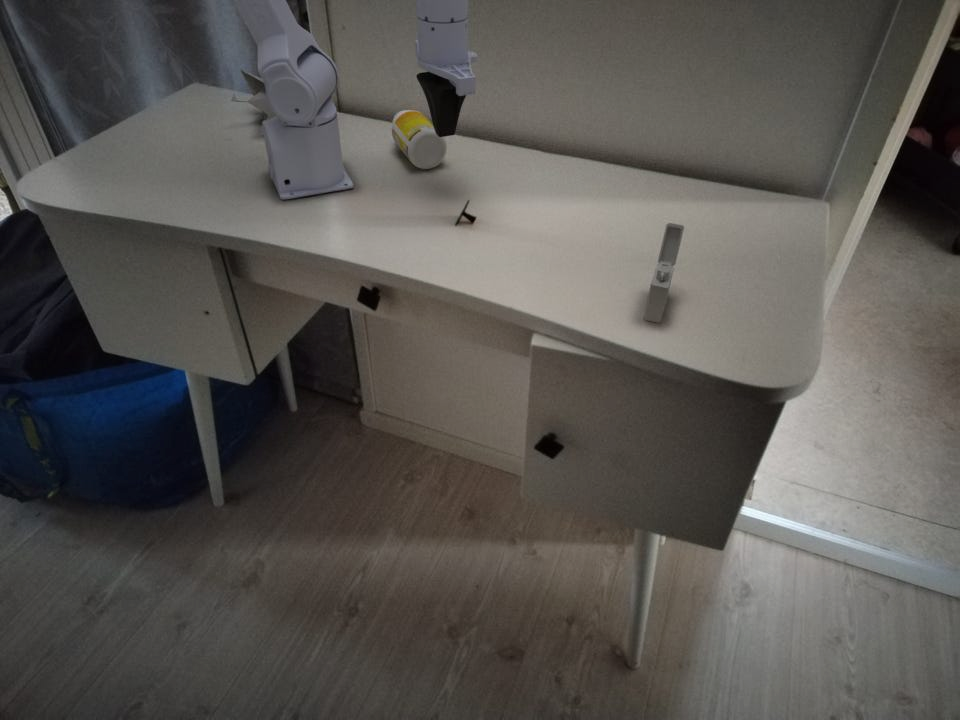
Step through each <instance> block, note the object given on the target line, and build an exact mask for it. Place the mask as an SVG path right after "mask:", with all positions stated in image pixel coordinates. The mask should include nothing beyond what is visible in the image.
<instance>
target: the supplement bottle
mask: <svg viewBox="0 0 960 720" xmlns="http://www.w3.org/2000/svg"><path fill="white" fill-rule="evenodd" d="M391 124H392V125H391V136H392V139H393V141H394V142H395V144H396V146H398V148H399V149H400V151H402V152H403V154H404V155H405V156H406V158H407V159H408V160H409V161H410V162H411V164H412V165H413V166H414V167H417V168H418V169H422V170H428V169H429V170H430V169H433V168H436V167H437V166H438V165H439V164H441V162H442V161H443V160H444V159H445V156H446V154H447V141H446V139H445V137H439V136H438V135H437V134H436V133H435V130H434V126H433V122H432V121H430V120H429V119H428V118H427V117H426V116H425V115H424V114H423V113H422V112H420V111H418V110H413V109H410V110H409V109H404V110H401V111H398V112H397V113H396V114H395V115H394V117H393V119H392V123H391Z"/></svg>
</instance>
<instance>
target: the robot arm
mask: <svg viewBox="0 0 960 720" xmlns="http://www.w3.org/2000/svg"><path fill="white" fill-rule="evenodd" d="M232 2H233V4H234V6H235V8H236V10H237V11H238V14H239V15H240V17H241V18H242V21H243V22H244V24H245V26H246V28H247V29H248V31H249V33H250V35H251V37H252V38H253V40H254V42H255V44H256V46H257V72H258V74H259V77H260V78H262V80H263V82H264V85H265V89H266V98H267V102H268V105H269V107H270V108H271V110H272V111H273V113H274V114H275V115H276V117H274V118H272V119H269V120H265V121H264V120H262V121H261V127H262V130H263V135H264V136H263V140H264V146H265V151H266V155H267V160H268V166H267V167H268V172H269V176H270V179H271V180H272V182H273V185H274V186H275V189H276V192H277V194H278V196H279V198H280V200H290V199H296V198H302V197H309V196H313V195H314V196H315V195H321V194H325V193H331V192H332V193H333V192H337V191H343V190H348V189H352V188H354V183H353V181H352V179H351V177H350V176H349V174H348V172H347V171H346V168H345V167H344V161H343V154H342V145H341V135H340V127H339V117H338V111H337V107H336V105H335V102H334V100H333V95H334V94H335V92H336V90H337V89H338V86H339V82H340V76H339V70H338V67H337V65H336V64H335V61H334V60H333V59H332V58H331V57H330V56H329V55H328V54H327V53H326V52H325V51H323V49H321V47H320V46H319V44H318V43H317V41H316V39H315V36H314V35H313V34H312V33H310V32H309V31H308V30H307V29H305V28H303V27H302V26H301V25H299V24H298V22H297V19H296V17H295V16H294V14H293V12H292V9H291V8H290V6H289V3H288V2H287V0H232ZM469 3H470V2H469V0H416V18H417V19H416V22H417V23H416V24H417V39H415V40H414V45H415V46H414V47H415V57H416V61H417V62H416V63H417V66H418V67H419V68H420V69H421V70H424V71H423V72H418V73H417V74H416V80H417V82H418V83H419V85H420V87H421V89H422V92H423V94H424V97H425V100H426V102H427V106H428V110H429V114H430V117H431V123H432V125H433V126H434V130H435V133H436V134H437V135H438V136H439V137H444V138H445V137H451V136H455V134H456V131H457V128H458V122H459V118H460V115H461V114H460V113H461V110H462V108H463V104H464V102H465V99H466V97H467V96H470V95H475V94H476V85H477V83H476V80H477V79H476V75H475V74H474V73H473V70H472V63H476V62H478V61H479V57H478V54H477V53H476V52H474V51H472V50H469V16H470V15H469V10H470V9H469Z"/></svg>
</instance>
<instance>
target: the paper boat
mask: <svg viewBox="0 0 960 720" xmlns="http://www.w3.org/2000/svg"><path fill="white" fill-rule="evenodd" d="M240 73H241V74H242V76H243V78H244V80H245V82H246V83H247V86H248V88H249V90H250V92H251V93H252V97H251V98H250V99H249V100H247V101H245V100H238V98H237V97H236V95H235V93H233V95H232V97H231V100H230V102H236V103H248V104H249V105H251V106H253V107H254V108H256V109H257V110H259V111H261V113H262V115H263V118H264V119H263V121H265V120H269V119H272V118H274V117H276V115H275V114H274V113H273V111H272V110H271V108H270V107H269V105H268V102H267V98H266V89H265V85H264V82H263V80H262V78H261V77H260V76H257V75H255V74H252V73H249V72H247V71H245V70H242V69H240ZM260 137H264V135H263V129H262V131H261V136H260Z"/></svg>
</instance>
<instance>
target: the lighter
mask: <svg viewBox="0 0 960 720" xmlns="http://www.w3.org/2000/svg"><path fill="white" fill-rule="evenodd" d="M684 230H685V226H684V225H683V224H679V223H674V222H673V223H672V222H668V223H667V224H666V225H665V229H664V233H663V238H662V242H661V246H660V250H659V254H658V259H657V263H656V266H655V270H654V271H653V275H652V279H651V282H650V284H649V290H648V296H647V300H646V304H645V309H644V314H643V320H644V321H649V322H653V323H656V324H659V323H661V322H662V319H663V315H664V312H665V308H666V304H667V300H668V296H669V292H670V288H671V284H672V280H673V274H674V271H675V265H676V264H677V260H678V255H679V251H680V248H681V242H682V239H683V235H684Z"/></svg>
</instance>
